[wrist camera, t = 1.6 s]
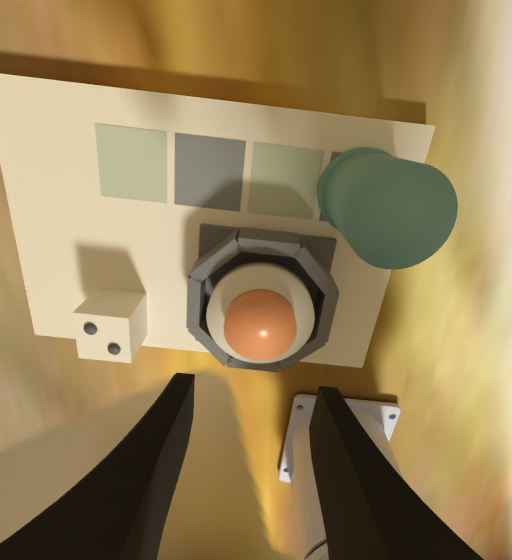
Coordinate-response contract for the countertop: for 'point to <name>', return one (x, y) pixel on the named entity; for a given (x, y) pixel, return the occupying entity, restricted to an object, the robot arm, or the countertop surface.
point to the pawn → (387, 206)
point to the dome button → (260, 312)
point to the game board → (180, 214)
